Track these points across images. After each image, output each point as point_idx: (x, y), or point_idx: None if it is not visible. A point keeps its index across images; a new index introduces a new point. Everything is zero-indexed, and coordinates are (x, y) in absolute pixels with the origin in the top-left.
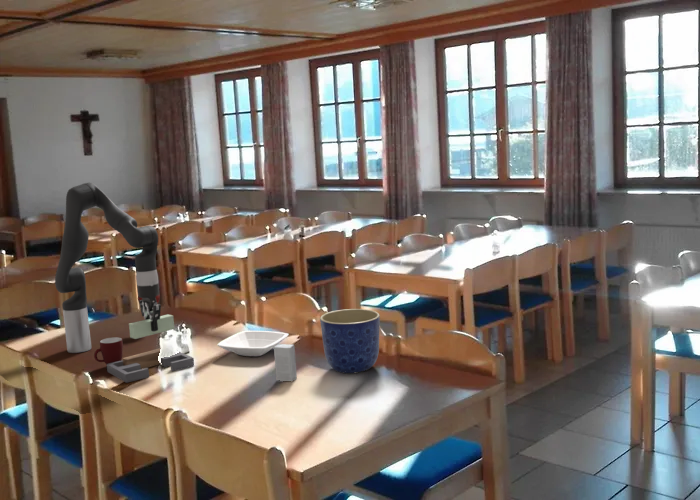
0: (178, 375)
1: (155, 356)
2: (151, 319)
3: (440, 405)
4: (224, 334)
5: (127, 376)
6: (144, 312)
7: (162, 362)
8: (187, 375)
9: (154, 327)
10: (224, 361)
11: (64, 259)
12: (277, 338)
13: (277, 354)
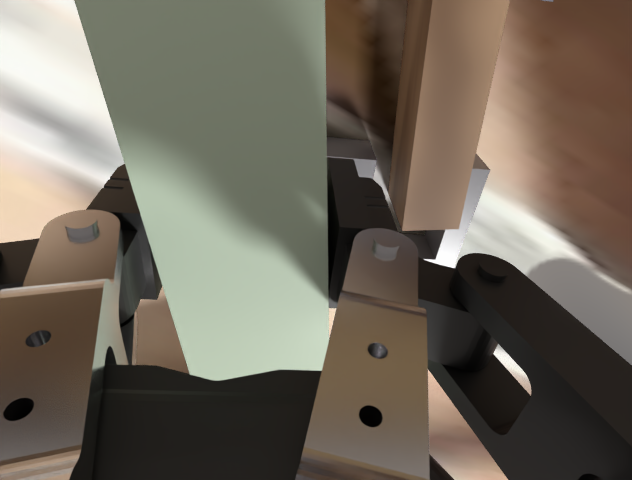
0: (100, 105)
1: (404, 148)
2: (48, 230)
3: None
4: (480, 456)
5: None
6: (339, 305)
7: (339, 147)
8: (67, 137)
9: (114, 186)
10: (173, 334)
11: None
12: None
13: None
